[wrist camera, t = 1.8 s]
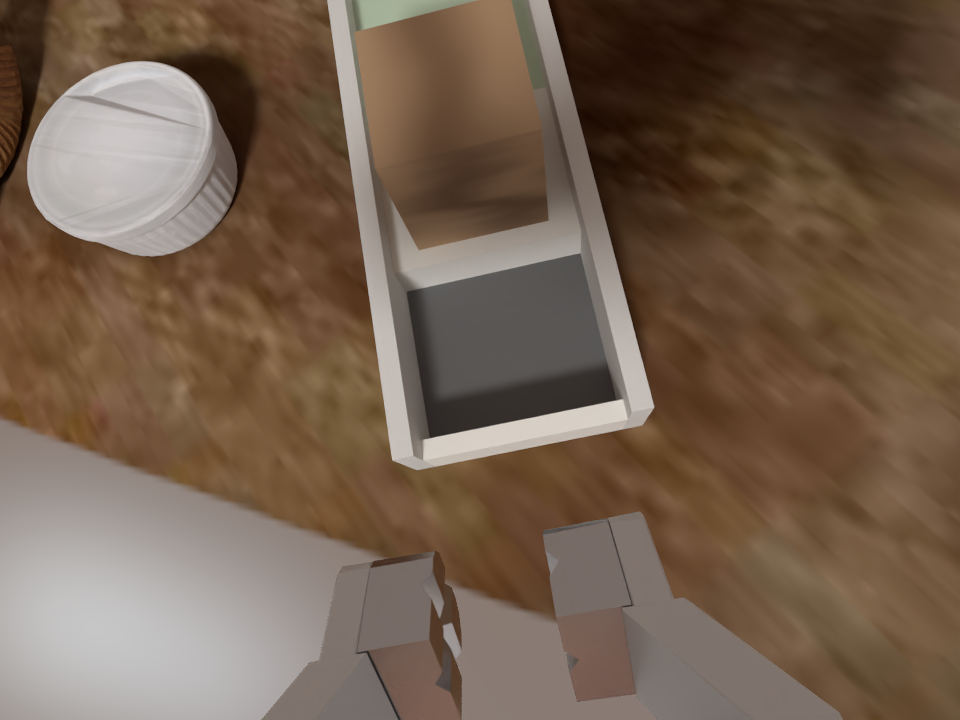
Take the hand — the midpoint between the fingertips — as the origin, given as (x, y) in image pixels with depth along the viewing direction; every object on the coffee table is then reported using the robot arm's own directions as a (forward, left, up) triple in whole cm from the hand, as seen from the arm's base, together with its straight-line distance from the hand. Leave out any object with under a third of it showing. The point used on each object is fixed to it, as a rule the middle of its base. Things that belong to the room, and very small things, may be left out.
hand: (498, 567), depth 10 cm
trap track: (0, -24, -23) cm, 34 cm away
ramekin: (+19, -25, -24) cm, 40 cm away
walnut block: (0, -19, -20) cm, 28 cm away
